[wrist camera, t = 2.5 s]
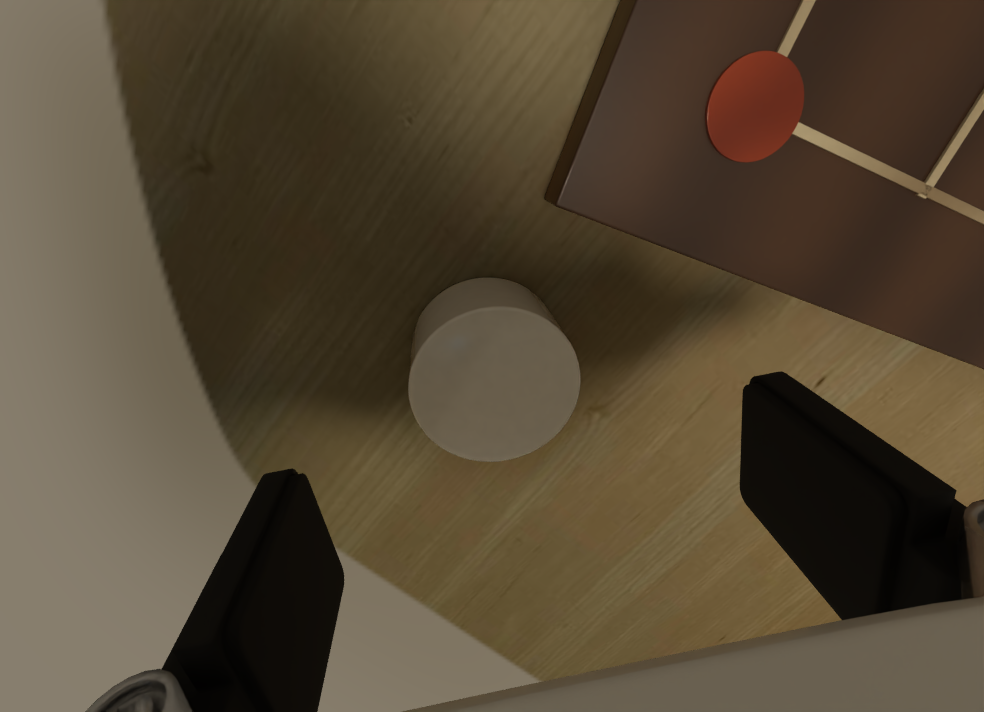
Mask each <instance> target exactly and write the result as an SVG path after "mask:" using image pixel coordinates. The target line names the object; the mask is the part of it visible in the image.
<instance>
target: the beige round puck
mask: <svg viewBox="0 0 984 712" xmlns="http://www.w3.org/2000/svg"><path fill="white" fill-rule="evenodd" d="M580 384H581V375H580V367H579V362H578V359H577V356H576V353H575V351H574V349H573V347H572V345H571V343H570V341H569V340H568V338H567V337H566V335H565V334H564V332H563V331H562V329H561V328H560V326H559V325H558V323H557V322H556V320H555V319H554V317H553V316H552V314H551V313H550V311H549V309H548V308H547V307H546V305H545V304H544V303H543V301H542V300H541V299H540V298H539V297H538V296H537V295H535V294H534V293H533V292H532V291H530V290H529V289H527V288H525V287H524V286H522V285H520V284H517V283H515V282H512V281H509V280H505V279H500V278H475V279H470V280H466V281H463V282H460V283H458V284H455V285H453V286H451V287H449V288H447V289H446V290H444V291H443V292H441V293H440V294H439V295H437V296H436V297H435V298H434V299H433V300H432V301H431V302H430V303H429V304H428V305H427V307H426V308H425V309H424V310H423V312H422V314H421V315H420V317H419V319H418V321H417V324H416V326H415V329H414V333H413V337H412V346H411V357H410V369H409V380H408V396H409V402H410V406H411V409H412V412H413V415H414V417H415V419H416V421H417V423H418V425H419V426H420V427H421V429H422V430H423V432H424V433H425V434H426V435H427V436H428V437H429V438H430V439H431V440H432V441H433V442H434V443H436V444H437V445H438V446H439V447H441V448H443V449H444V450H446V451H448V452H450V453H452V454H454V455H456V456H459V457H462V458H465V459H469V460H475V461H484V462H495V461H505V460H510V459H514V458H518V457H521V456H524V455H526V454H529V453H531V452H533V451H535V450H537V449H539V448H540V447H542V446H543V445H545V444H546V443H548V442H549V441H550V440H551V439H552V438H553V437H555V436H556V435H557V434H558V433H559V431H560V430H561V429H562V428H563V427H564V425H565V424H566V423H567V421H568V420H569V418H570V416H571V415H572V413H573V411H574V408H575V406H576V403H577V400H578V396H579V392H580Z"/></svg>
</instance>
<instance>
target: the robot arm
mask: <svg viewBox="0 0 984 712" xmlns="http://www.w3.org/2000/svg"><path fill="white" fill-rule="evenodd" d="M740 491H741V495H742V498H743V500H744V502H745V503H746V505H747V506H748V507H749V508H750V510H751V511H752V512H753V513H754V515H755V516H756V517H757V518H758V519H759V521H760V522H761V523H762V524H763V525H764V527H765V528H766V529H767V530H768V531H769V533H770V534H771V535H772V536H773V537H774V539H775V540H776V541H777V542H778V543H779V545H780V546H781V547H782V548H783V549H784V551H785V552H786V553H787V554H788V555H789V557H790V558H791V559H792V560H793V561H794V563H795V564H796V565H797V566H798V567H799V569H800V570H801V571H802V572H803V573H804V575H805V576H806V577H807V578H808V580H809V581H810V582H811V583H812V584H813V586H814V587H815V588H816V589H817V590H818V592H819V593H820V594H821V595H822V596H823V598H824V599H825V600H826V601H827V602H828V604H829V605H830V606H831V607H832V608H833V610H834V611H835V612H836V613H837V614H838V616H839V617H840V618H841V619H842V620H841V621H836V622H831V623H826V624H821V625H816V626H811V627H806V628H801V629H796V630H791V631H786V632H782V633H777V634H772V635H767V636H762V637H757V638H752V639H747V640H742V641H737V642H732V643H727V644H722V645H717V646H712V647H707V648H702V649H697V650H693V651H688V652H683V653H678V654H673V655H668V656H664V657H659V658H654V659H649V660H644V661H639V662H635V663H630V664H625V665H620V666H615V667H610V668H606V669H601V670H596V671H591V672H587V673H582V674H577V675H572V676H567V677H563V678H558V679H553V680H548V681H544V682H539V683H534V684H529V685H525V686H520V687H515V688H510V689H506V690H501V691H497V692H492V693H487V694H482V695H478V696H473V697H468V698H464V699H459V700H454V701H450V702H445V703H441V704H436V705H431V706H427V707H422V708H417V709H412V710H408V711H403V712H984V499H983V500H980V501H976V502H973V503H971V504H970V505H969V506H968V507H966V506H964V505H963V504H961V503H960V502H959V501H957V500H956V499H954V498H955V494H956V490H955V489H954V488H952V487H951V486H949V485H948V484H946V483H945V482H943V481H942V480H940V479H939V478H938V477H936V476H935V475H933V474H932V473H930V472H929V471H927V470H926V469H924V468H923V467H922V466H920V465H919V464H917V463H916V462H914V461H913V460H911V459H910V458H908V457H907V456H906V455H904V454H903V453H901V452H900V451H898V450H897V449H895V448H894V447H892V446H891V445H890V444H888V443H887V442H885V441H884V440H882V439H881V438H879V437H878V436H876V435H875V434H874V433H872V432H871V431H869V430H868V429H866V428H865V427H863V426H862V425H860V424H859V423H858V422H856V421H855V420H853V419H852V418H850V417H849V416H847V415H846V414H844V413H843V412H842V411H840V410H839V409H837V408H836V407H834V406H833V405H831V404H830V403H828V402H827V401H826V400H824V399H823V398H821V397H820V396H818V395H817V394H815V393H814V392H812V391H811V390H810V389H808V388H807V387H805V386H804V385H802V384H801V383H799V382H798V381H796V380H795V379H794V378H792V377H791V376H789V375H788V374H786V373H784V372H775V373H770V374H765V375H760V376H755V377H753V378H752V379H751V381H750V384H749V385H746V386H745V387H744V389H743V400H742V432H741V464H740ZM343 587H344V572H343V568H342V565H341V563H340V560H339V557H338V555H337V552H336V550H335V547H334V545H333V542H332V539H331V537H330V534H329V532H328V529H327V527H326V524H325V522H324V519H323V516H322V514H321V511H320V509H319V506H318V504H317V501H316V498H315V496H314V493H313V491H312V488H311V486H310V483H309V480H308V478H307V476H306V475H305V474H303V473H302V474H298V473H297V472H296V470H295V469H287V470H282V471H277V472H272V473H267V474H264V475H263V476H262V478H261V480H260V482H259V483H258V485H257V487H256V489H255V491H254V493H253V495H252V497H251V499H250V501H249V503H248V505H247V507H246V509H245V511H244V512H243V514H242V516H241V518H240V520H239V522H238V524H237V526H236V528H235V530H234V532H233V534H232V536H231V538H230V539H229V542H228V543H227V545H226V547H225V549H224V551H223V553H222V555H221V556H220V558H219V560H218V562H217V564H216V566H215V567H214V569H213V572H212V574H211V575H210V577H209V579H208V581H207V583H206V585H205V587H204V589H203V591H202V592H201V594H200V596H199V598H198V600H197V602H196V604H195V606H194V608H193V610H192V612H191V614H190V616H189V618H188V620H187V622H186V623H185V625H184V627H183V629H182V631H181V633H180V635H179V637H178V639H177V641H176V643H175V644H174V647H173V648H172V650H171V652H170V654H169V656H168V658H167V660H166V662H165V664H164V666H163V668H162V670H161V669H157V670H149V671H144V672H141V673H139V674H136V675H134V676H131V677H129V678H127V679H125V680H124V681H122V682H120V683H119V684H117V685H115V686H114V687H112V688H111V689H110V690H108V691H107V692H106V693H105V694H104V695H102V696H101V697H100V698H98V699H97V700H96V701H95V702H94V703H93V705H91V706H90V707H89V708H88V710H87V711H86V712H317V711H318V706H319V701H320V696H321V692H322V687H323V682H324V677H325V673H326V668H327V663H328V659H329V654H330V649H331V644H332V639H333V634H334V630H335V625H336V621H337V616H338V611H339V606H340V602H341V597H342V592H343Z"/></svg>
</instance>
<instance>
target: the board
mask: <svg viewBox="0 0 984 712" xmlns="http://www.w3.org/2000/svg"><path fill="white" fill-rule="evenodd" d="M545 200H547V201H548V202H550V203H551V204H553V205H555V206H556V207H559V208H562V209H564V210H567V211H570V212H572V213H575V214H577V215H580V216H583V217H585V218H588V219H591V220H593V221H596V222H598V223H601V224H604V225H606V226H609V227H612V228H614V229H617V230H619V231H622V232H625V233H627V234H630V235H633V236H635V237H638V238H640V239H643V240H646V241H648V242H651V243H654V244H656V245H659V246H661V247H664V248H667V249H669V250H672V251H675V252H677V253H680V254H683V255H685V256H688V257H690V258H693V259H696V260H698V261H701V262H704V263H706V264H709V265H711V266H714V267H717V268H719V269H722V270H725V271H727V272H730V273H732V274H735V275H738V276H740V277H743V278H746V279H748V280H751V281H753V282H756V283H759V284H761V285H764V286H767V287H769V288H772V289H774V290H777V291H780V292H782V293H785V294H788V295H790V296H793V297H795V298H798V299H801V300H803V301H806V302H809V303H811V304H814V305H817V306H819V307H822V308H824V309H827V310H830V311H832V312H835V313H838V314H840V315H843V316H845V317H848V318H851V319H853V320H856V321H859V322H861V323H864V324H866V325H869V326H872V327H874V328H877V329H880V330H882V331H885V332H887V333H890V334H893V335H895V336H898V337H901V338H903V339H906V340H908V341H911V342H914V343H916V344H919V345H922V346H924V347H927V348H929V349H932V350H935V351H937V352H940V353H943V354H945V355H948V356H951V357H953V358H956V359H958V360H961V361H964V362H966V363H969V364H972V365H974V366H977V367H979V368H982V369H984V0H621V1H620V4H619V6H618V9H617V12H616V14H615V17H614V19H613V22H612V25H611V27H610V30H609V32H608V35H607V37H606V40H605V43H604V45H603V48H602V50H601V53H600V55H599V58H598V61H597V63H596V66H595V68H594V71H593V74H592V76H591V79H590V81H589V84H588V86H587V89H586V92H585V94H584V97H583V99H582V102H581V105H580V107H579V110H578V112H577V115H576V117H575V120H574V123H573V125H572V128H571V130H570V133H569V135H568V138H567V141H566V143H565V146H564V148H563V151H562V154H561V156H560V159H559V161H558V164H557V166H556V169H555V172H554V174H553V177H552V179H551V182H550V185H549V187H548V190H547V192H546V195H545Z"/></svg>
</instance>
